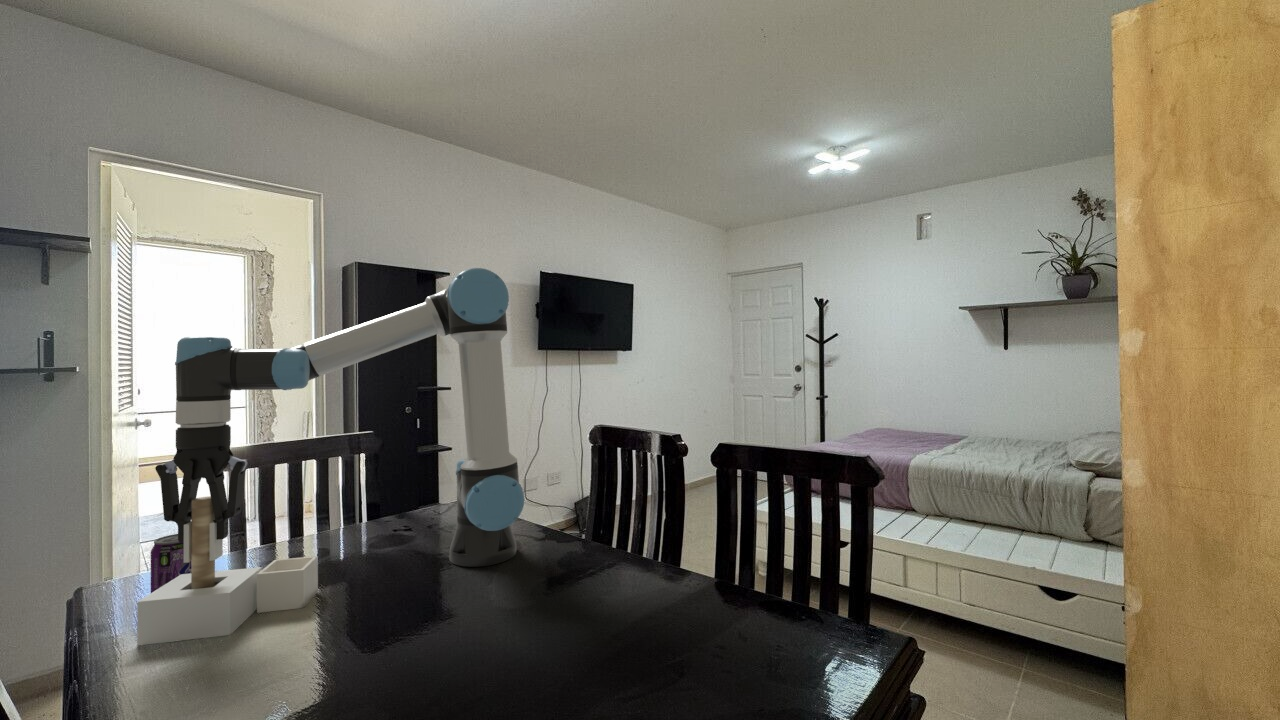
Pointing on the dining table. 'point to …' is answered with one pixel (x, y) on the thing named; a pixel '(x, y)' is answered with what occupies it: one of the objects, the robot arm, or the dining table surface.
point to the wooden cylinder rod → (202, 544)
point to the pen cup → (287, 584)
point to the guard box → (197, 607)
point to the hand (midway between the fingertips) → (203, 558)
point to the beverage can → (167, 561)
